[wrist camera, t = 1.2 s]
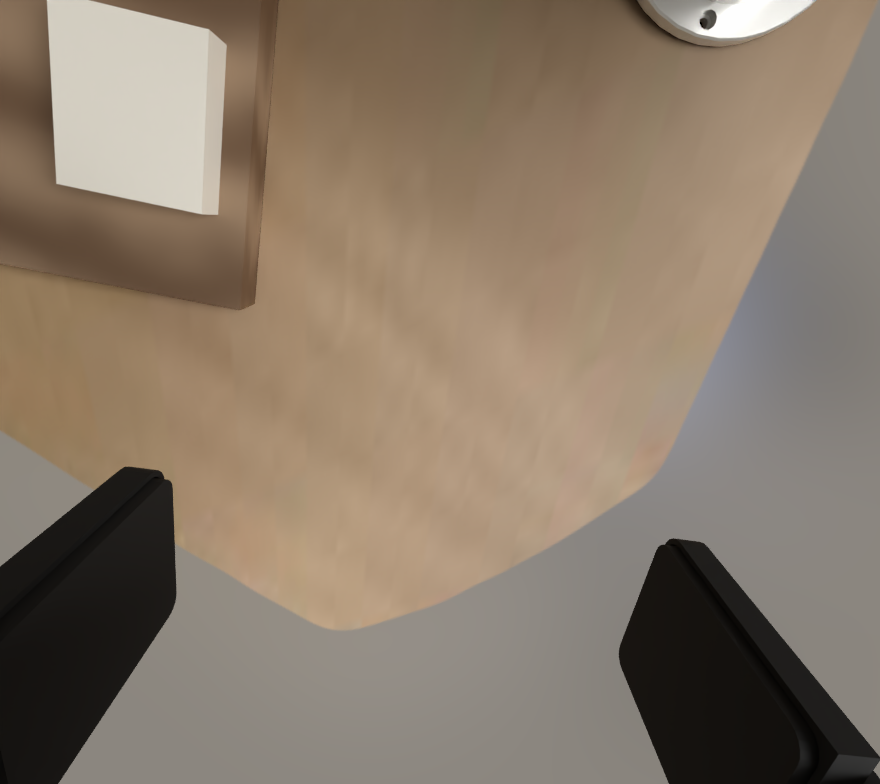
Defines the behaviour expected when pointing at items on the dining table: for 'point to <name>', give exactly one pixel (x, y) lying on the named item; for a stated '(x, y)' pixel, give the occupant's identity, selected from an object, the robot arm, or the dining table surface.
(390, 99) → the dining table surface
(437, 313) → the dining table surface
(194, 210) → the tile
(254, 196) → the board
